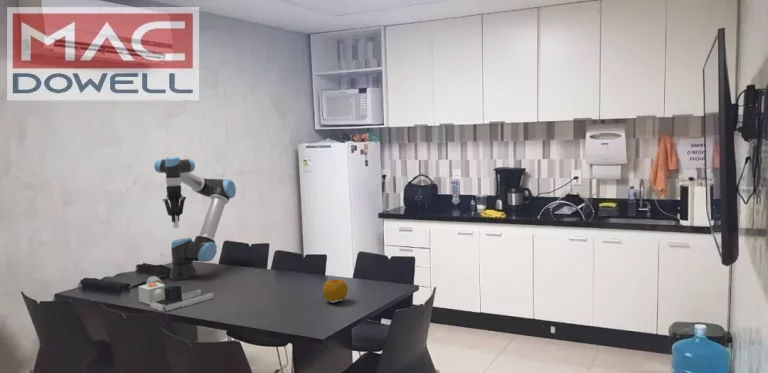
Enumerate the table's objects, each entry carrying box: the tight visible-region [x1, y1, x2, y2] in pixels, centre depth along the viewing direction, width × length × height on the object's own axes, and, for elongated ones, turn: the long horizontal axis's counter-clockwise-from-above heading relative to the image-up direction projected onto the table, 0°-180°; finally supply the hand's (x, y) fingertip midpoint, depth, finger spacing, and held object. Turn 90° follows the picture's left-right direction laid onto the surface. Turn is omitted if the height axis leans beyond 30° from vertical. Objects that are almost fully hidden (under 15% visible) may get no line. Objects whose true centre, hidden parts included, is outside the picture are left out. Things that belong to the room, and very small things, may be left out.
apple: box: [322, 278, 349, 301], centre depth 293 cm, size 13×13×11 cm
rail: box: [149, 288, 214, 313], centre depth 296 cm, size 28×12×3 cm, turn 141°
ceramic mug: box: [145, 275, 164, 285], centre depth 319 cm, size 11×8×8 cm
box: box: [164, 282, 183, 305], centre depth 292 cm, size 8×6×11 cm
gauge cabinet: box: [137, 282, 165, 306], centre depth 300 cm, size 10×10×8 cm
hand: (176, 227), depth 320 cm, fingers closed
